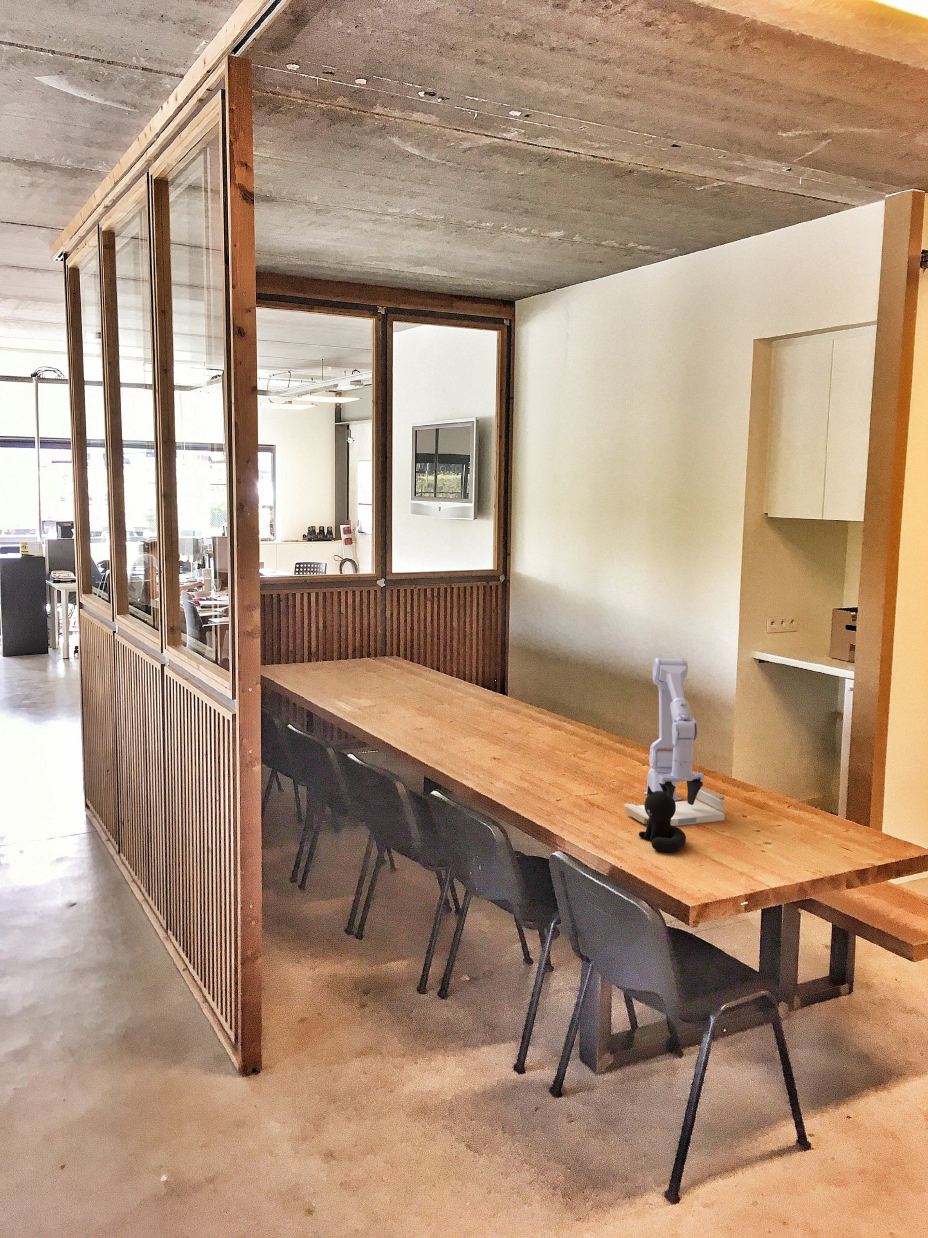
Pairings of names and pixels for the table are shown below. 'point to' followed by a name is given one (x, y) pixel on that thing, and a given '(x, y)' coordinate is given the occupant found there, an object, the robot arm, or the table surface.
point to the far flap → (711, 798)
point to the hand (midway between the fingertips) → (679, 805)
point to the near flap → (636, 813)
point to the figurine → (662, 822)
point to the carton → (693, 813)
